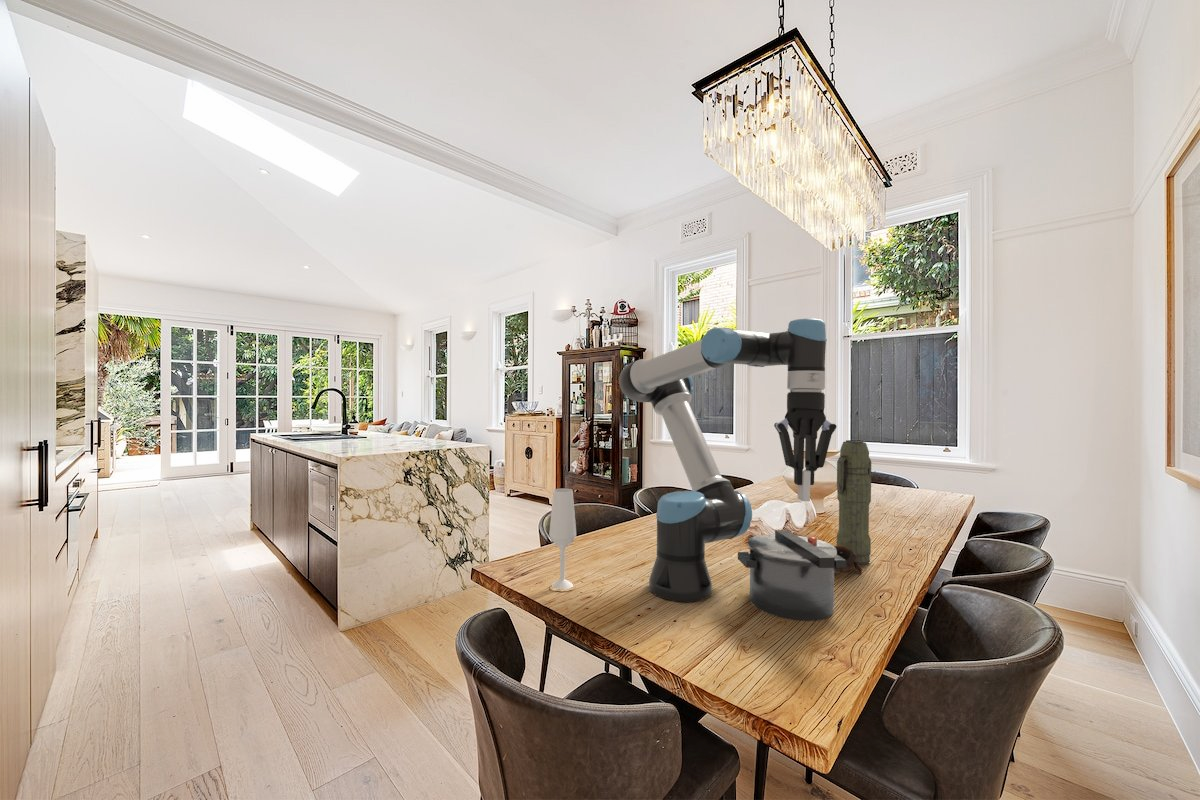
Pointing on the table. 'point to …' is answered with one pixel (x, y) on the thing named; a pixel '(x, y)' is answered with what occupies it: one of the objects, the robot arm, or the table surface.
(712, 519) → the robot arm
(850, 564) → the pottery mug
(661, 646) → the table surface
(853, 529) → the thermos
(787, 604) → the pot
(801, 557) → the lid
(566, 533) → the champagne flute
